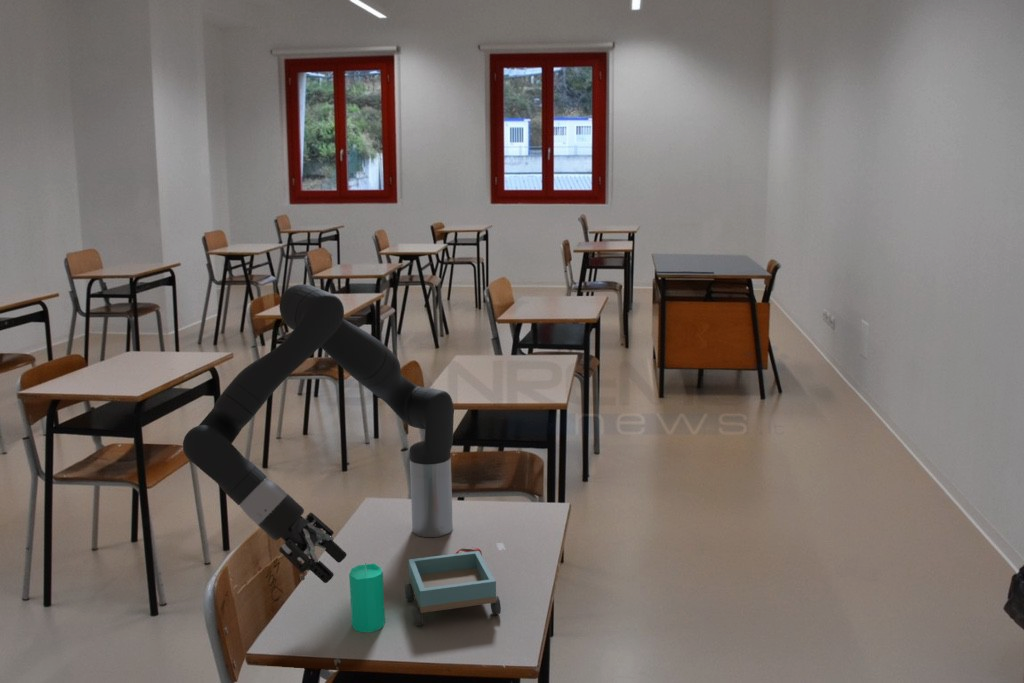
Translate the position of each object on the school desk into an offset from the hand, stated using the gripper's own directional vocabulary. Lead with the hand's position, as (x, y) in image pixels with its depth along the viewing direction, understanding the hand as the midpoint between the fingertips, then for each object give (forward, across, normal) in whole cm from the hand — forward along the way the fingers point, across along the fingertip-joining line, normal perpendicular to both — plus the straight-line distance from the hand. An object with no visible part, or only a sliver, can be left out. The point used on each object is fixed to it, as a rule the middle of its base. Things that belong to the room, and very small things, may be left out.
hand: (336, 568), depth 172 cm
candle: (+12, 0, +4) cm, 12 cm away
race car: (+22, +23, -6) cm, 32 cm away
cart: (+22, +7, -6) cm, 24 cm away
